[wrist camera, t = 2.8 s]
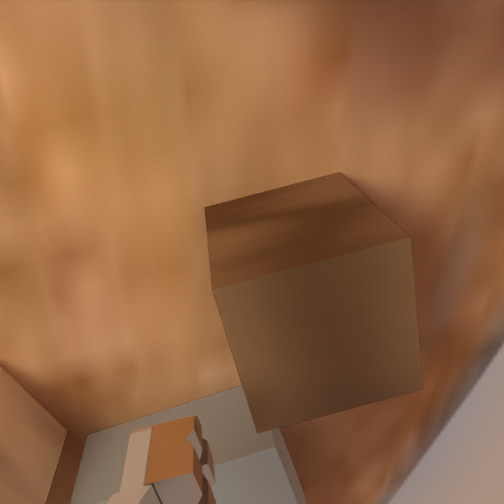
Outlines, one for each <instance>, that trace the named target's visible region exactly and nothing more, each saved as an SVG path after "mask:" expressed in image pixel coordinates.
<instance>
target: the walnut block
mask: <svg viewBox="0 0 504 504" xmlns="http://www.w3.org/2000/svg"><path fill="white" fill-rule="evenodd" d="M205 217H206V228H207V239H208V250H209V261H210V272H211V283H212V291H213V294H214V297H215V300H216V304H217V307H218V310H219V313H220V316H221V320H222V323H223V326H224V329H225V332H226V336H227V339H228V342H229V345H230V348H231V352H232V355H233V358H234V361H235V364H236V368H237V371H238V374H239V377H240V380H241V384H242V387H243V390H244V393H245V396H246V400H247V403H248V406H249V409H250V412H251V415H252V419H253V422H254V425H255V428H256V431H257V434H258V433H262V432H265V431H269V430H273V429H277V428H280V427H284V426H288V425H292V424H295V423H299V422H303V421H306V420H310V419H314V418H318V417H321V416H325V415H329V414H332V413H336V412H340V411H344V410H347V409H351V408H355V407H358V406H362V405H366V404H370V403H373V402H377V401H381V400H385V399H388V398H392V397H396V396H399V395H403V394H407V393H411V392H414V391H418V390H422V389H423V379H422V367H421V355H420V342H419V330H418V318H417V305H416V293H415V281H414V269H413V256H412V244H411V237H410V236H409V235H408V234H407V233H406V232H405V231H404V230H403V229H402V228H400V227H399V226H398V225H397V224H396V223H395V222H394V221H393V220H392V219H390V218H389V217H388V216H387V215H386V214H385V213H384V212H383V211H382V210H380V209H379V208H378V207H377V206H376V205H375V204H374V203H373V202H372V201H370V200H369V199H368V198H367V197H366V196H365V195H364V194H363V193H362V192H361V191H359V190H358V189H357V188H356V187H355V186H354V185H353V184H352V183H351V182H349V181H348V180H347V179H346V178H345V177H344V176H343V175H342V174H341V173H339V172H338V173H334V174H330V175H327V176H323V177H319V178H315V179H311V180H307V181H304V182H300V183H296V184H292V185H288V186H285V187H281V188H277V189H273V190H269V191H265V192H262V193H258V194H254V195H250V196H246V197H243V198H239V199H235V200H231V201H227V202H223V203H220V204H216V205H212V206H208V207H205Z"/></svg>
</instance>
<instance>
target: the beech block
mask: <svg viewBox="0 0 504 504" xmlns="http://www.w3.org/2000/svg"><path fill="white" fill-rule="evenodd" d="M67 432H68V431H67V430H66V429H65V428H64V427H63V426H62V425H61V424H60V423H59V422H58V421H57V420H56V419H55V418H54V417H53V416H52V415H51V414H50V413H49V412H48V411H47V410H45V409H44V408H43V407H42V406H41V405H40V404H39V403H38V402H37V401H36V400H35V399H34V398H33V397H32V396H31V395H30V394H29V393H28V392H27V391H26V390H25V389H24V388H22V387H21V386H20V385H19V384H18V383H17V382H16V381H15V380H14V379H13V378H12V377H11V376H10V375H9V374H8V373H7V372H6V371H5V370H4V369H3V368H2V367H1V366H0V504H45V503H46V500H47V496H48V493H49V490H50V487H51V484H52V480H53V477H54V474H55V471H56V467H57V464H58V461H59V458H60V454H61V451H62V448H63V445H64V441H65V438H66V435H67Z"/></svg>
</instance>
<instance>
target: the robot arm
mask: <svg viewBox="0 0 504 504" xmlns="http://www.w3.org/2000/svg"><path fill="white" fill-rule="evenodd" d="M214 484H215V470H214V464H213V458H212V454H211V450H210V447H209V444H208V441H207V440H205V439H203V438H202V426H201V423H200V421H199V419H198V417H197V416H191V417H186V418H182V419H177V420H173V421H169V422H164V423H160V424H156V425H154V426H149V427H145V428H140V429H136V430H133V431H132V433H131V435H130V437H129V443H128V448H127V454H126V460H125V465H124V471H123V476H122V482H121V487H120V492H119V493H116V494H113V495H112V496H111V498H110V499H109V500H108V501H107V503H106V504H216V500H215V497H214V495H213V492H212V490H211V489H212V487H213V486H214Z"/></svg>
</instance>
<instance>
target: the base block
mask: <svg viewBox="0 0 504 504" xmlns="http://www.w3.org/2000/svg"><path fill="white" fill-rule="evenodd" d="M191 416H197V417H198V419H199V421H200V423H201V426H202V438H203V439H205V440H207V441H208V444H209V447H210V450H211V454H212V458H213V464H214V470H215V484H214V486H213V487H212V489H211V490H212V492H213V495H214V497H215V500H216V504H307V503H306V499H305V495H304V492H303V489H302V486H301V484H300V481H299V479H298V476H297V473H296V471H295V468H294V465H293V463H292V460H291V457H290V455H289V452H288V450H287V447H286V444H285V442H284V439H283V436H282V434H281V431H280V428H277V429H273V430H269V431H265V432H262V433H258V434H257V431H256V428H255V425H254V422H253V419H252V415H251V412H250V409H249V406H248V403H247V400H246V396H245V393H244V390H243V387H242V385H240V386H237V387H234V388H231V389H228V390H225V391H222V392H218V393H215V394H212V395H209V396H206V397H203V398H200V399H197V400H194V401H191V402H188V403H184V404H181V405H178V406H175V407H172V408H169V409H166V410H163V411H160V412H157V413H153V414H150V415H147V416H144V417H141V418H138V419H135V420H132V421H129V422H126V423H122V424H119V425H116V426H113V427H110V428H107V429H104V430H101V431H98V432H95V433H92V434H88V435H87V439H86V443H85V447H84V451H83V455H82V459H81V463H80V467H79V470H78V474H77V478H76V482H75V486H74V490H73V494H72V498H71V502H70V504H106V503H107V501H108V500H109V499H110V498H111V496H112V495H113V494H116V493H119V492H120V487H121V482H122V476H123V471H124V465H125V460H126V454H127V448H128V443H129V437H130V435H131V433H132V431H133V430H136V429H140V428H145V427H149V426H154V425H156V424H160V423H164V422H169V421H173V420H177V419H182V418H186V417H191Z"/></svg>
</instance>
